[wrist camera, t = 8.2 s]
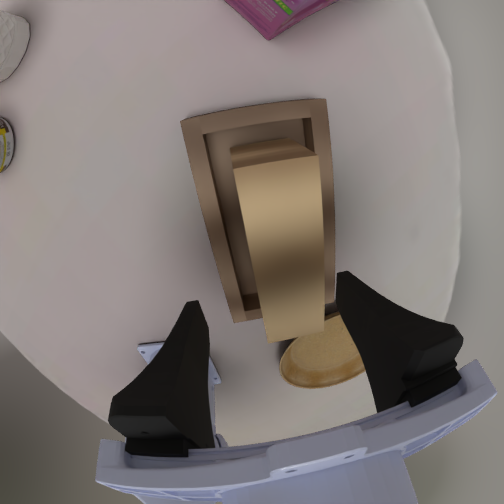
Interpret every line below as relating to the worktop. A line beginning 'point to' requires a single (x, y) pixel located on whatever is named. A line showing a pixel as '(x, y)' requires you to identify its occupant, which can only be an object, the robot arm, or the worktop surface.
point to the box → (276, 13)
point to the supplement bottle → (5, 144)
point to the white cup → (12, 42)
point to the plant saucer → (322, 357)
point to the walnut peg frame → (225, 191)
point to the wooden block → (284, 233)
